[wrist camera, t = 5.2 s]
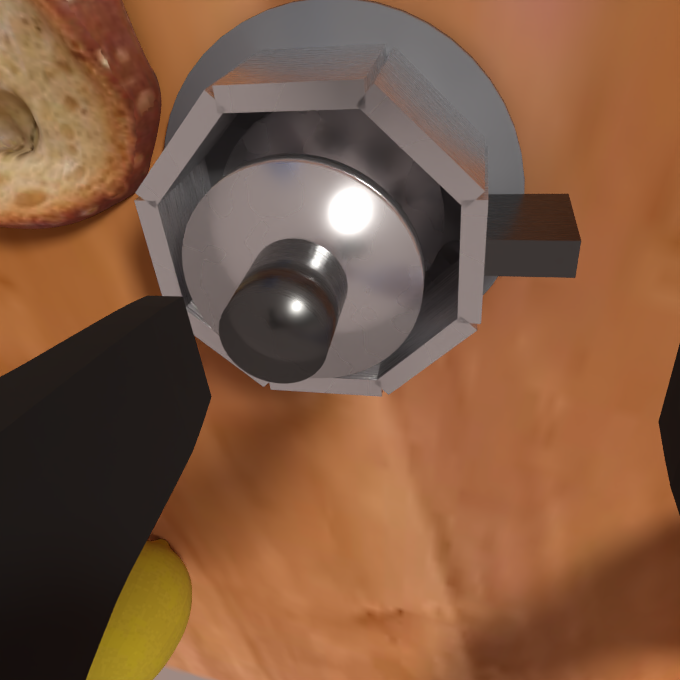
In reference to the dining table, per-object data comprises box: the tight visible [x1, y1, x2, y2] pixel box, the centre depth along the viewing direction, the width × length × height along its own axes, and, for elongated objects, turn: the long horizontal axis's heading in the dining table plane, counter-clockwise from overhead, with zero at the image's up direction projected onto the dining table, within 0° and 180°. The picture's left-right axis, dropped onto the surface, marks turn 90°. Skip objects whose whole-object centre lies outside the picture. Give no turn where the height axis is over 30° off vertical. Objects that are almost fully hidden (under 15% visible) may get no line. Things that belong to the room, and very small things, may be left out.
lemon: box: [86, 539, 192, 680], centre depth 29 cm, size 6×6×8 cm
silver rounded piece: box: [182, 109, 445, 384], centre depth 16 cm, size 7×7×7 cm
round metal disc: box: [165, 0, 524, 295], centre depth 19 cm, size 11×11×1 cm
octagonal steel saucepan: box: [135, 43, 581, 396], centre depth 17 cm, size 9×11×4 cm
